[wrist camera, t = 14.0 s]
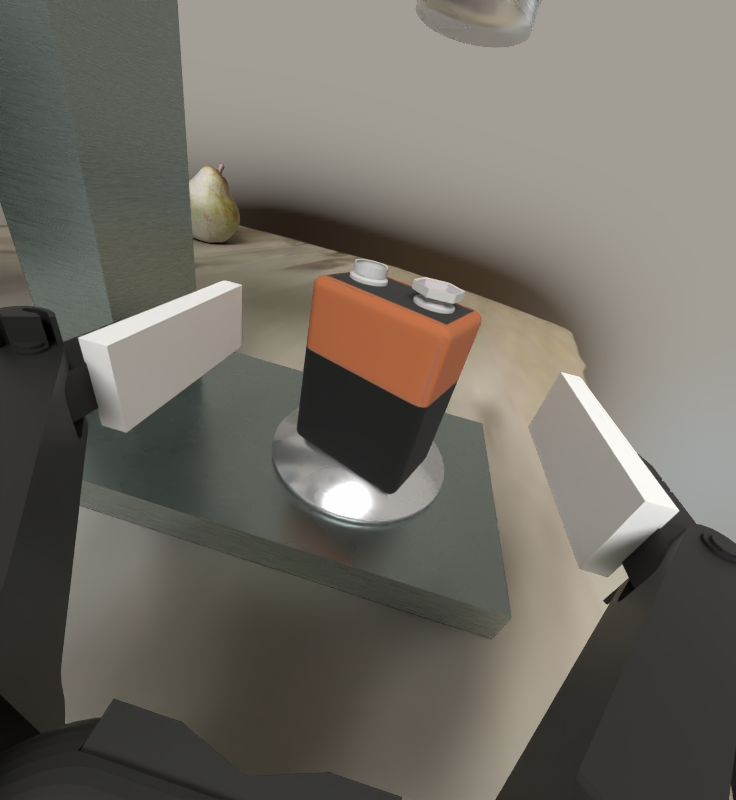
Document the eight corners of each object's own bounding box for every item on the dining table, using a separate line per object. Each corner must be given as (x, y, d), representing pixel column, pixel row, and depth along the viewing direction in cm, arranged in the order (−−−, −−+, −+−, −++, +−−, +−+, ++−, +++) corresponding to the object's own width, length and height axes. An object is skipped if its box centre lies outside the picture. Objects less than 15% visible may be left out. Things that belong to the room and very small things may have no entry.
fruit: (248, 245, 65) (250, 170, 58) (217, 251, 57) (215, 165, 50) (200, 231, 66) (196, 156, 59) (163, 235, 58) (154, 149, 52)
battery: (390, 501, 17) (460, 309, 12) (291, 435, 20) (312, 251, 14) (427, 459, 20) (495, 293, 15) (338, 406, 23) (369, 249, 18)
